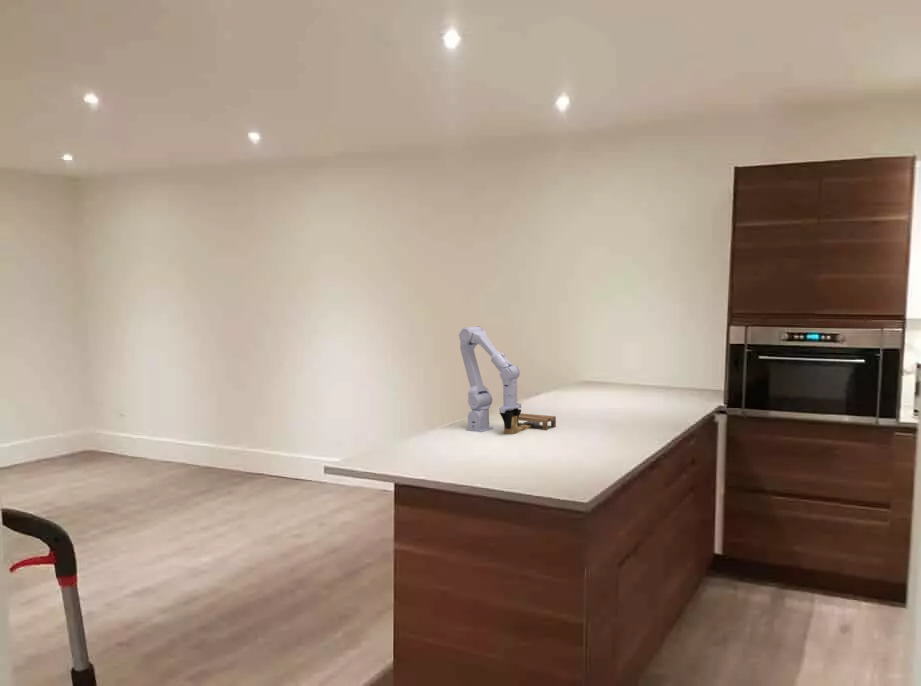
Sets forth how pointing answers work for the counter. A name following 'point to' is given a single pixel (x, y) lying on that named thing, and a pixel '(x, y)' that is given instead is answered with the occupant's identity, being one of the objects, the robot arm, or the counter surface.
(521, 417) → the shelf
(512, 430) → the tool
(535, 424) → the plate
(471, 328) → the robot arm
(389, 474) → the counter surface
